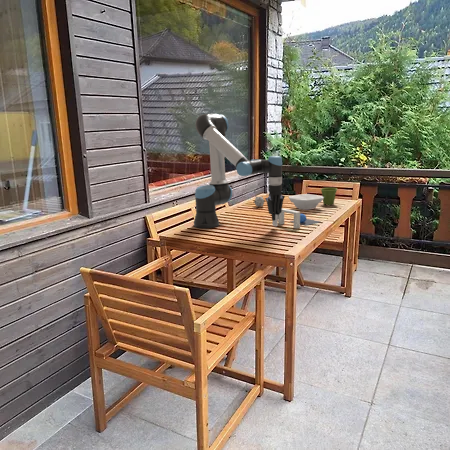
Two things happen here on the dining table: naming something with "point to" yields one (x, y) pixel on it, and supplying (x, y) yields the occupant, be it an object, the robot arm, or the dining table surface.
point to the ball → (302, 218)
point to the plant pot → (328, 195)
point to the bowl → (306, 201)
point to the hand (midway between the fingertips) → (275, 225)
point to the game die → (259, 201)
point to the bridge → (296, 213)
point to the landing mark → (308, 222)
